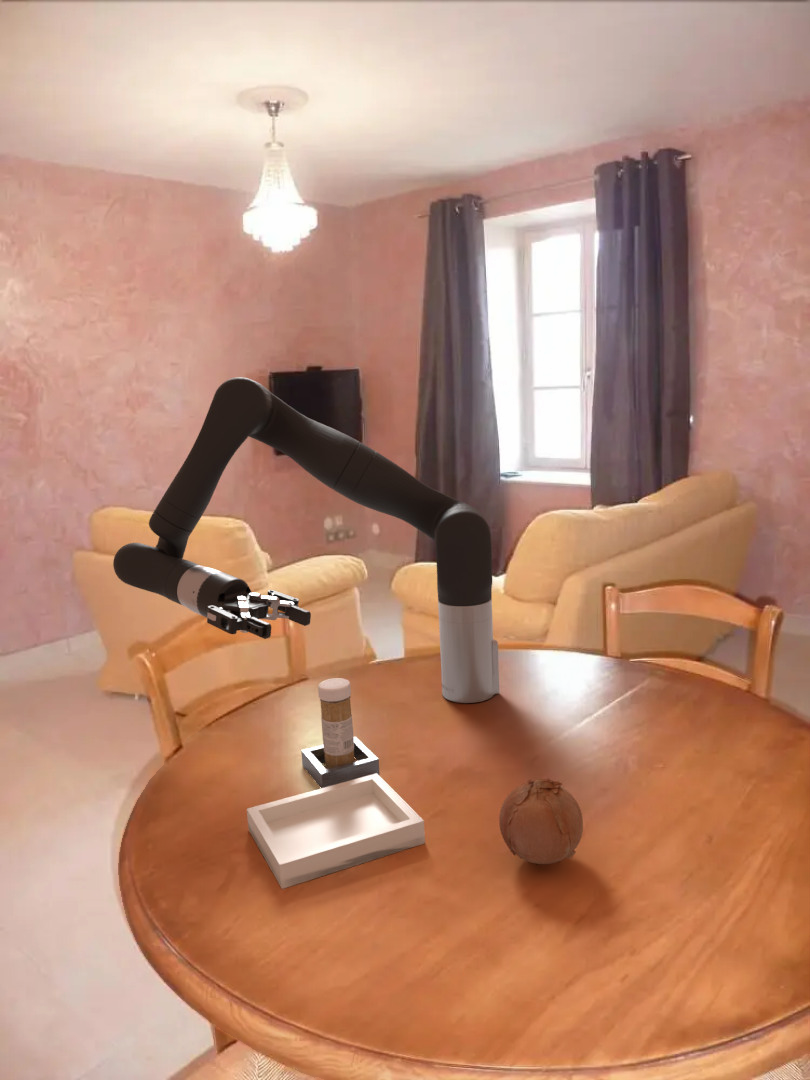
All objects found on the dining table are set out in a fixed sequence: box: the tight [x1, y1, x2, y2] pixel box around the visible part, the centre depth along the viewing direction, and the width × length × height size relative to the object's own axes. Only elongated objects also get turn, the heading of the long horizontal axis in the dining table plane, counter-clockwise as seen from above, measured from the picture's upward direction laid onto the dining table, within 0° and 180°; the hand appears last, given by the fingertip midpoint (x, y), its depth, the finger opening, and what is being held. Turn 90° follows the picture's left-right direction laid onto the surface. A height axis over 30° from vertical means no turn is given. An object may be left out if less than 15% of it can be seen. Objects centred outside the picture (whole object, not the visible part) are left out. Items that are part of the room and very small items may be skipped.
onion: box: [498, 777, 584, 866], centre depth 94 cm, size 10×9×10 cm
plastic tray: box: [246, 773, 426, 890], centre depth 102 cm, size 18×14×3 cm
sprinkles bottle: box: [317, 677, 356, 769], centre depth 118 cm, size 5×5×13 cm
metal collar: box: [300, 736, 380, 789], centre depth 119 cm, size 9×9×2 cm
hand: (289, 625), depth 122 cm, fingers open, 8 cm apart
